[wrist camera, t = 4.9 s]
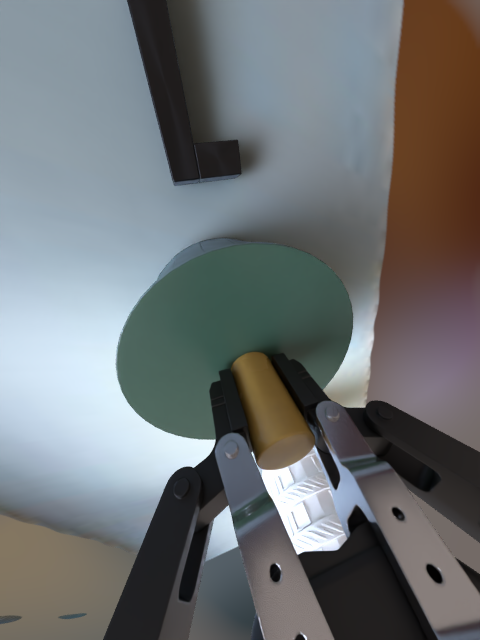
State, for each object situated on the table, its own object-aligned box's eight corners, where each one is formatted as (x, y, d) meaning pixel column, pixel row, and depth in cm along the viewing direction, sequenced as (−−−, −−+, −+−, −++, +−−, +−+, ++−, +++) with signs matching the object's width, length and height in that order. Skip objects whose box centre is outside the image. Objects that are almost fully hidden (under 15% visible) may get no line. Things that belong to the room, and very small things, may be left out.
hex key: (123, -18, 10) (111, -63, 8) (214, -15, 10) (219, -55, 9) (174, 185, 14) (172, 182, 12) (235, 178, 15) (241, 174, 13)
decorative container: (250, 447, 34) (303, 635, 19) (234, 411, 28) (295, 644, 13) (308, 423, 35) (402, 581, 20) (305, 383, 29) (438, 566, 14)
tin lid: (58, 272, 8) (-177, 383, 3) (360, 218, 10) (543, 223, 5) (169, 447, 15) (163, 564, 10) (328, 394, 18) (388, 468, 12)
